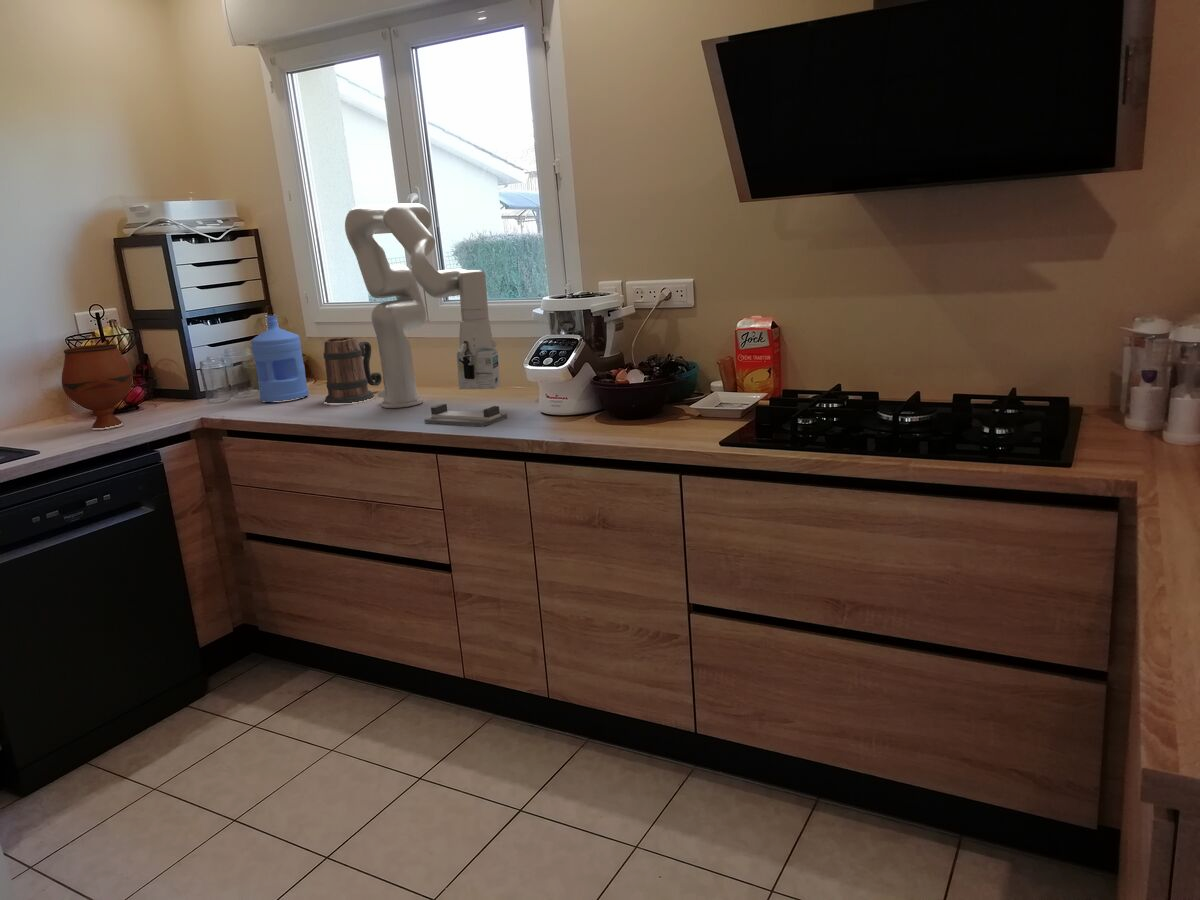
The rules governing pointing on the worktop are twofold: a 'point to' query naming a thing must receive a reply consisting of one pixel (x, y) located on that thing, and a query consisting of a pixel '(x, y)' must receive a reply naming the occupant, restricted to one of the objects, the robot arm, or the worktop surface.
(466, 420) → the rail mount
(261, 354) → the water jug
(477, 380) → the light bulb box
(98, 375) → the goblet
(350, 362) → the tankard
